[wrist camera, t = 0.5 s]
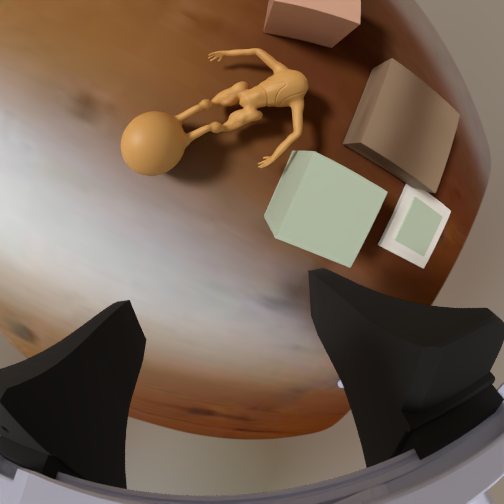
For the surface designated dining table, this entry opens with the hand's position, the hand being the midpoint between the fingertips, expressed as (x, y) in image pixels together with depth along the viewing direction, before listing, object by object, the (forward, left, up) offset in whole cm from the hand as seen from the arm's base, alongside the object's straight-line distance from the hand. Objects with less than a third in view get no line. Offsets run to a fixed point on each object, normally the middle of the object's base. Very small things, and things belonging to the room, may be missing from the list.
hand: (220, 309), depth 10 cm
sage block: (-5, -5, -10) cm, 12 cm away
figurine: (+8, -3, -6) cm, 10 cm away
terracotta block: (+1, -18, -10) cm, 20 cm away
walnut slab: (-9, -13, -9) cm, 18 cm away
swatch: (-15, -7, -10) cm, 19 cm away
